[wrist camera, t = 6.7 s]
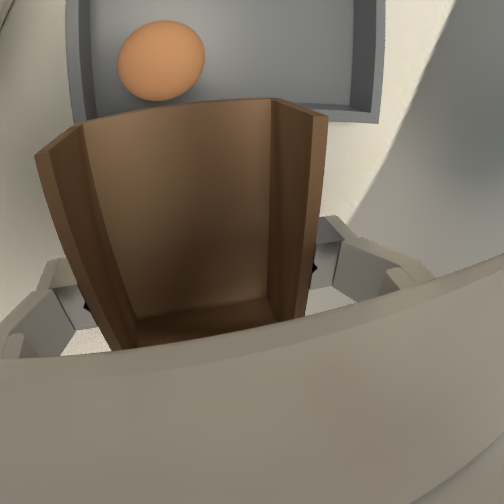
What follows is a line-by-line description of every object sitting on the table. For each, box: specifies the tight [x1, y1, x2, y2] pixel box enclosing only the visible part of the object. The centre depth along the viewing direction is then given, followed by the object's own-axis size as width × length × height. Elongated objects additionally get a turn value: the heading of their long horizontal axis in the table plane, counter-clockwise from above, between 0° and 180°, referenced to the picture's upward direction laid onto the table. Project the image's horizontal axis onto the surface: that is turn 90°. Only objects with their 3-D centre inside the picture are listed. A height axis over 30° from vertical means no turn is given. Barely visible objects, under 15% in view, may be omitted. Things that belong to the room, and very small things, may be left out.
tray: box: [65, 0, 385, 125], centre depth 14 cm, size 20×13×4 cm, turn 91°
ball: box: [117, 20, 205, 101], centre depth 14 cm, size 5×5×5 cm
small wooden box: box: [34, 97, 329, 351], centre depth 10 cm, size 7×9×4 cm
